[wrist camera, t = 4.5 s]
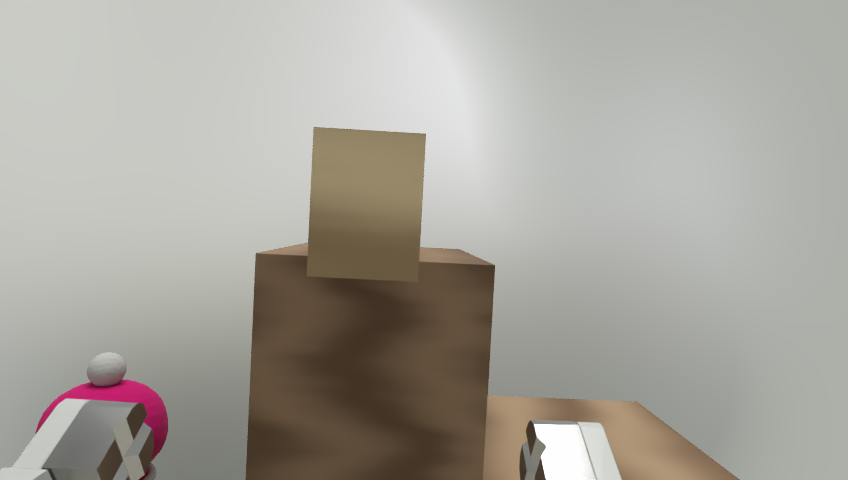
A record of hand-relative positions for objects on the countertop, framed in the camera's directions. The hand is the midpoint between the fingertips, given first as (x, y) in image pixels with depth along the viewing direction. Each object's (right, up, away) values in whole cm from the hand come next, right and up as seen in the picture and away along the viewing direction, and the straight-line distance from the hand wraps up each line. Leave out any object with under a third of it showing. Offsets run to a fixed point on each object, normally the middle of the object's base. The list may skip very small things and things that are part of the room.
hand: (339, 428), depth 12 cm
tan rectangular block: (0, +3, +12) cm, 12 cm away
